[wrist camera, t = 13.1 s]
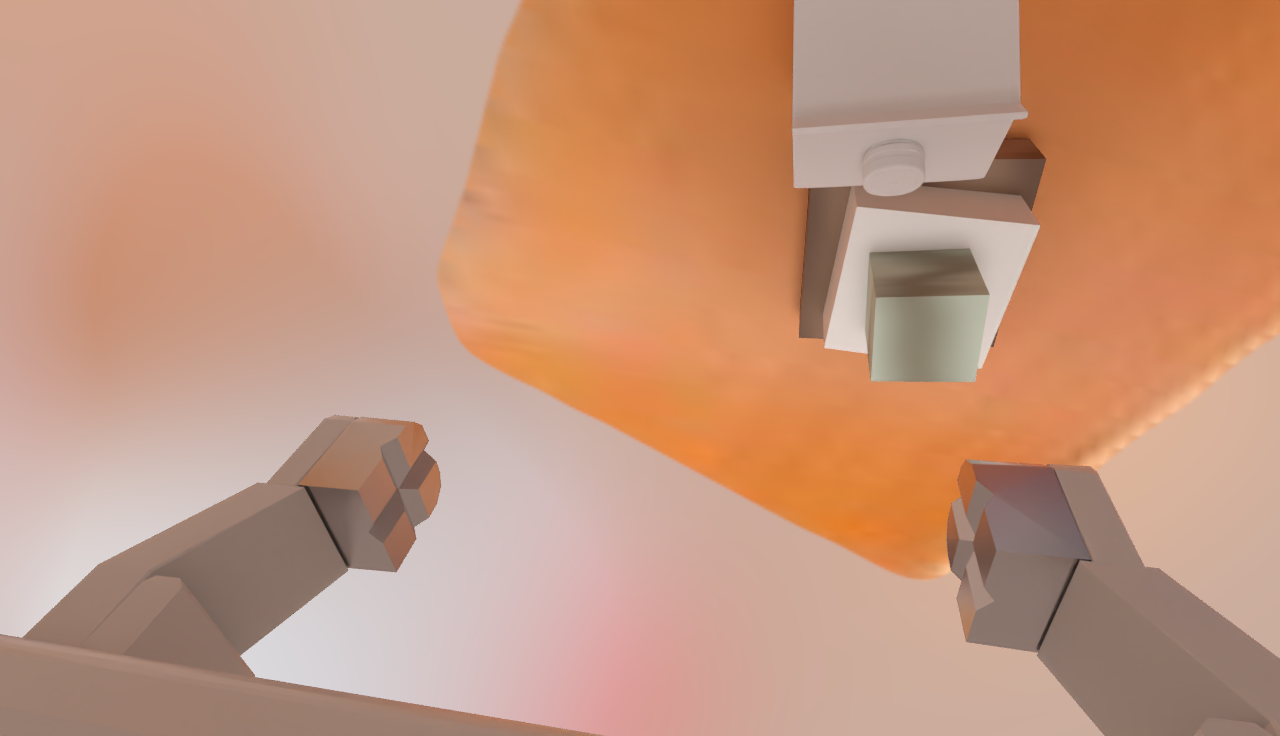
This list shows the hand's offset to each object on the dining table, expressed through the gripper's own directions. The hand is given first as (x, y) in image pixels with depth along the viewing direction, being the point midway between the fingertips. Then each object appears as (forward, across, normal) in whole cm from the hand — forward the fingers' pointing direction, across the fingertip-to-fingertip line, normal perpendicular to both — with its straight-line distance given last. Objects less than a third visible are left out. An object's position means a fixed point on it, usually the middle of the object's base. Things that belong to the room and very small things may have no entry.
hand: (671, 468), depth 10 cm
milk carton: (+35, -5, 0) cm, 35 cm away
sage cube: (+27, -8, +12) cm, 31 cm away
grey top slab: (+31, -9, +12) cm, 35 cm away
